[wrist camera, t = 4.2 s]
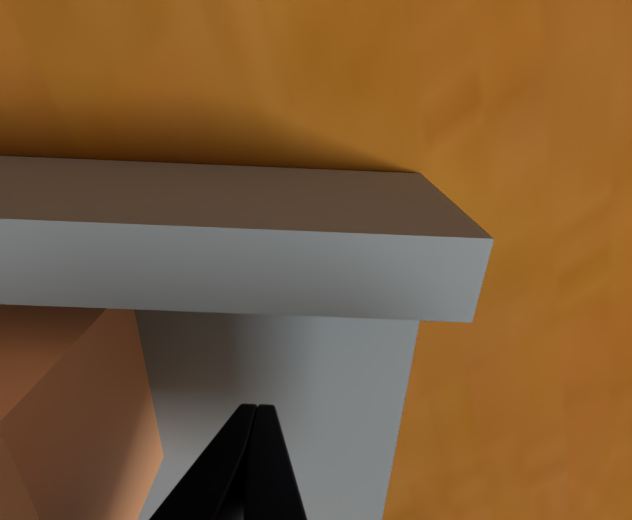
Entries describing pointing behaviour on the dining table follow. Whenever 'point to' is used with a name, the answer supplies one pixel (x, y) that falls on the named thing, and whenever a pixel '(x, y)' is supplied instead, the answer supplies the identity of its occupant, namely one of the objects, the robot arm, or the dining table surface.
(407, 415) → the dining table surface
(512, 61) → the dining table surface
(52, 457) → the terracotta block
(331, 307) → the box
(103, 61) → the dining table surface
